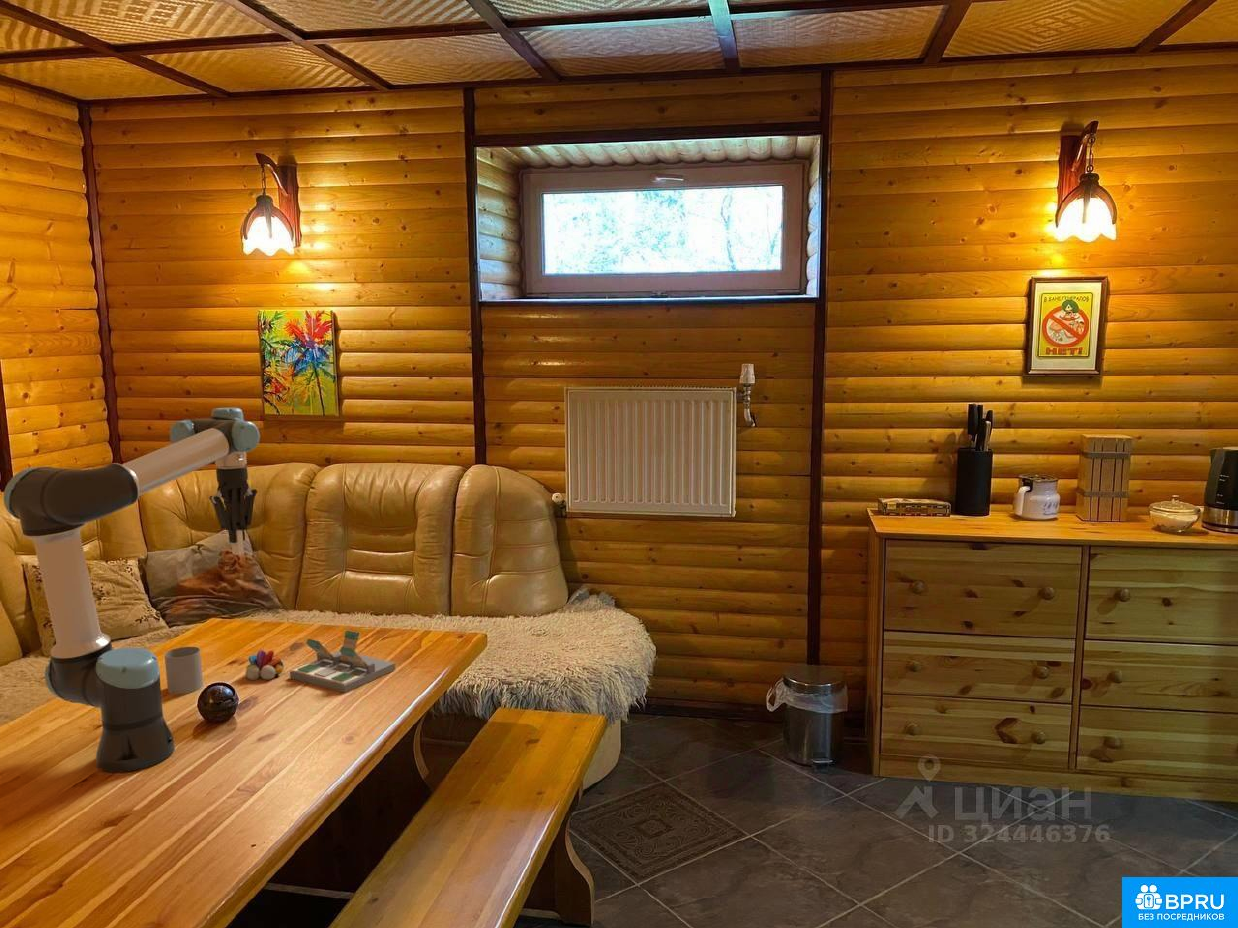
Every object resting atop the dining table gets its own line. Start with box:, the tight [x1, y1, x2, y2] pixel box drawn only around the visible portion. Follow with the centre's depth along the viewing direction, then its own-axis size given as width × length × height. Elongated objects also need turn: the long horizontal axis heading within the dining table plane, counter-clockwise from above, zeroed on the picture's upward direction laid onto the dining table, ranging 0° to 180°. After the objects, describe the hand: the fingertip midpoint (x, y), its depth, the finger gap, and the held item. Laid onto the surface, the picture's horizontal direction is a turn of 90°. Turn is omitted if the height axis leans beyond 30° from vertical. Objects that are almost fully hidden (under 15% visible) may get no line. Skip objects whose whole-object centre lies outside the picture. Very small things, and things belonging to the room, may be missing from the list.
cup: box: [164, 646, 204, 696], centre depth 230 cm, size 8×8×10 cm
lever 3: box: [339, 646, 367, 669], centre depth 234 cm, size 1×4×9 cm
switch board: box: [289, 650, 396, 694], centre depth 239 cm, size 18×21×4 cm
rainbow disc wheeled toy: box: [245, 649, 285, 681], centre depth 238 cm, size 8×10×7 cm
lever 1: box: [305, 638, 333, 661], centre depth 240 cm, size 1×4×9 cm
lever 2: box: [338, 630, 360, 665], centre depth 240 cm, size 1×4×9 cm, turn 60°
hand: (238, 553), depth 233 cm, fingers closed
